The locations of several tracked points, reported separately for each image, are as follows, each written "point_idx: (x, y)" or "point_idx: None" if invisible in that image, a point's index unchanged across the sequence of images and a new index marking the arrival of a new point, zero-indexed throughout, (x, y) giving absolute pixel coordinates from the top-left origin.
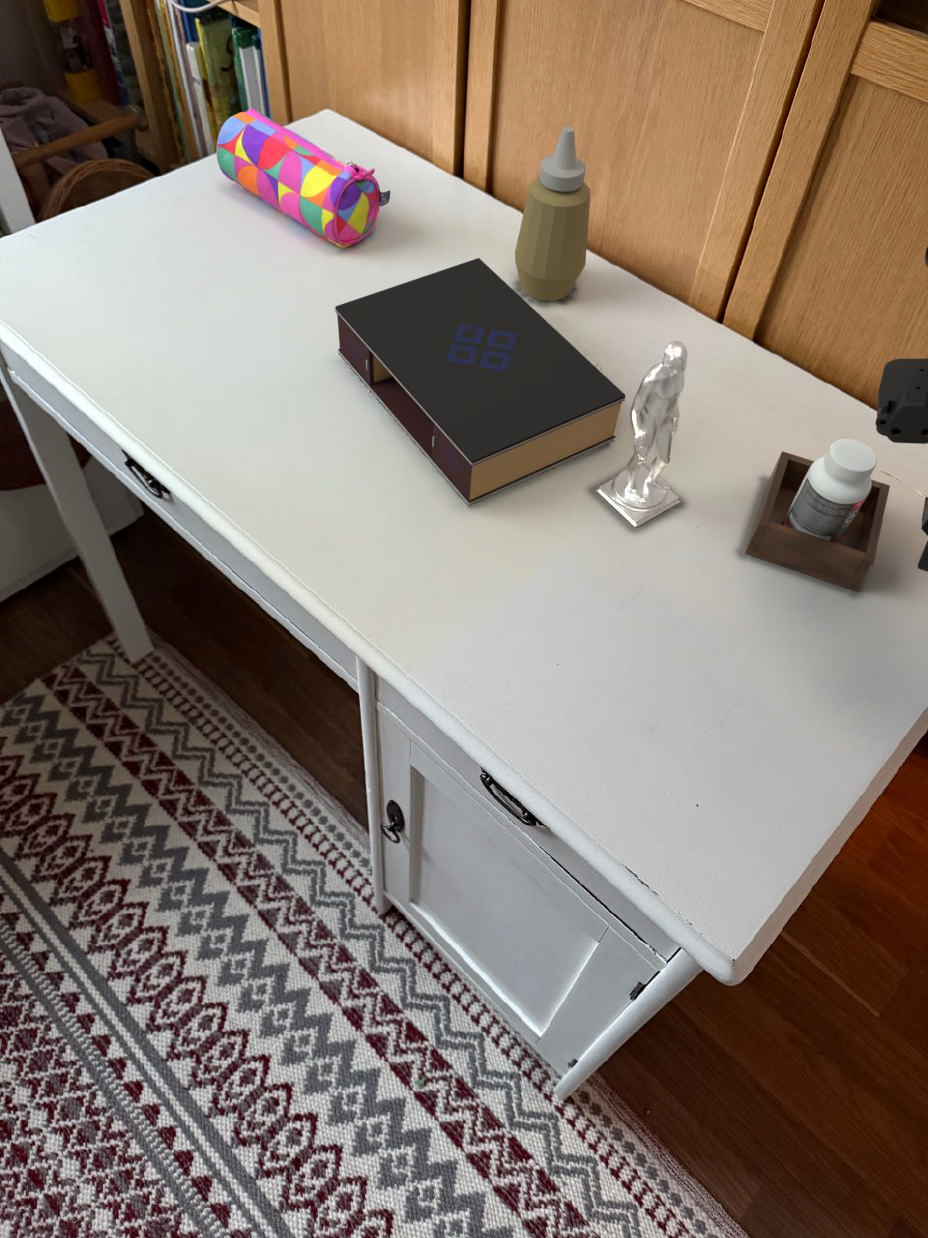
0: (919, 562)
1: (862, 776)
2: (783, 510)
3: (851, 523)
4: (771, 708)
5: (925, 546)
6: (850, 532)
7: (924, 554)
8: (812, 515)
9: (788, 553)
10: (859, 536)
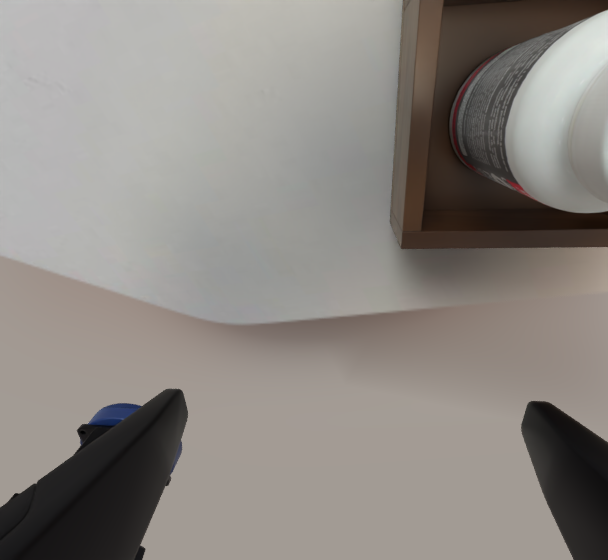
0: (147, 403)
1: (97, 281)
2: None
3: None
4: (106, 149)
5: (109, 449)
6: None
7: (94, 441)
8: (488, 90)
9: (403, 80)
10: (518, 208)
